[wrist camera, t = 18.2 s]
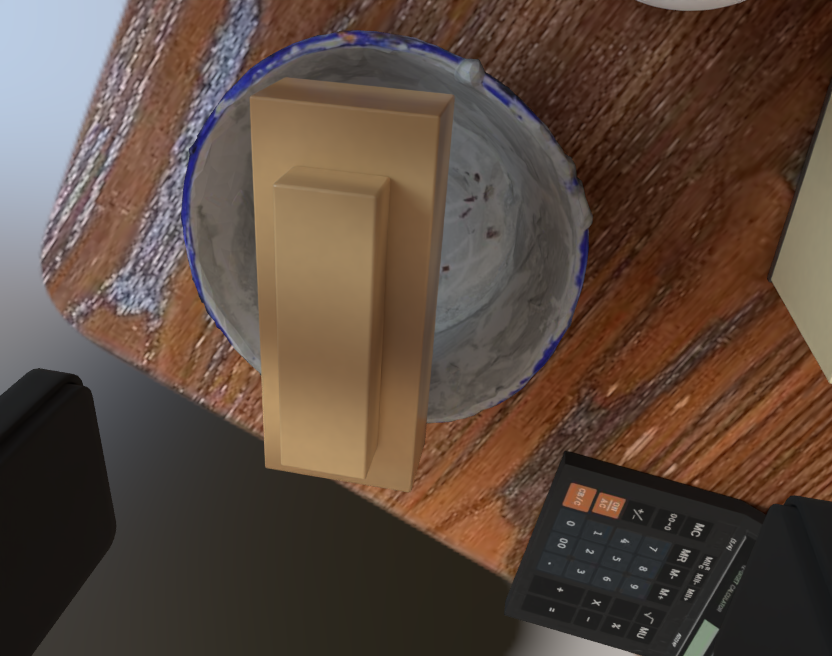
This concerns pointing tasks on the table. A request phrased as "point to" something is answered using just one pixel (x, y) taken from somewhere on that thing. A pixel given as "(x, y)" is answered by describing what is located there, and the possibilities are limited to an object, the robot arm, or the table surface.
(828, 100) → the bread box
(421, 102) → the brush
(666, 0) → the pill bottle
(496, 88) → the bowl
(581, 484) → the calculator
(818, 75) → the table surface
